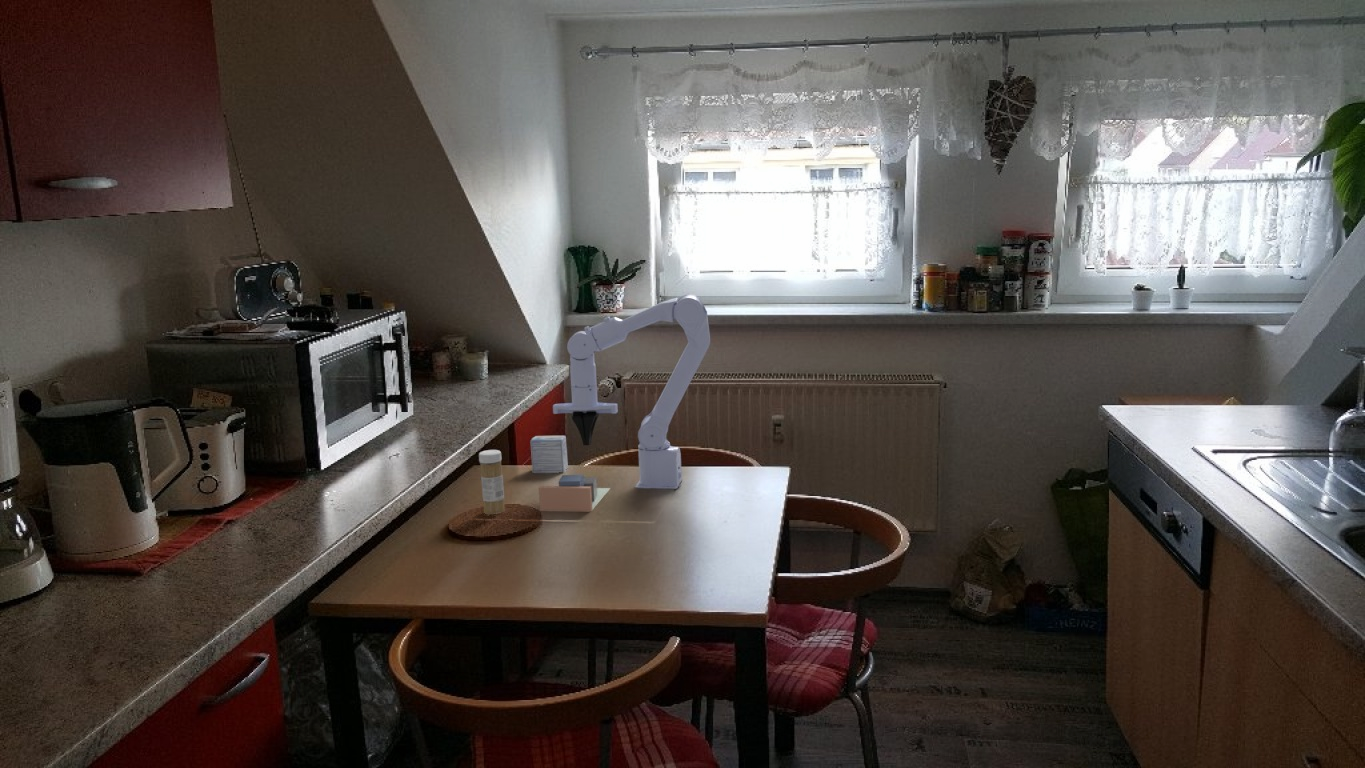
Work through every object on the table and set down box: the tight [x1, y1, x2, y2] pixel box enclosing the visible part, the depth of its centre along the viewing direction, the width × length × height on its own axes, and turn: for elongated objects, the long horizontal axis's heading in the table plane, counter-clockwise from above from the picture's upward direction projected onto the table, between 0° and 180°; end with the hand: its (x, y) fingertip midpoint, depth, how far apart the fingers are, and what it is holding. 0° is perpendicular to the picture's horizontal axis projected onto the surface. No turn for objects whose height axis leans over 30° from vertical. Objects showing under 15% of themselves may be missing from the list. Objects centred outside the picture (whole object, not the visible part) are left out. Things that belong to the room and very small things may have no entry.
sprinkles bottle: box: [478, 449, 506, 515], centre depth 203 cm, size 5×5×14 cm
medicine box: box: [529, 435, 569, 474], centre depth 236 cm, size 8×4×9 cm, turn 84°
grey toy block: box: [583, 476, 598, 501], centre depth 212 cm, size 7×4×5 cm
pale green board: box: [538, 485, 611, 513], centre depth 211 cm, size 11×17×5 cm, turn 170°
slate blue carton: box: [558, 474, 584, 486], centre depth 207 cm, size 4×5×6 cm
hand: (587, 444), depth 221 cm, fingers closed
